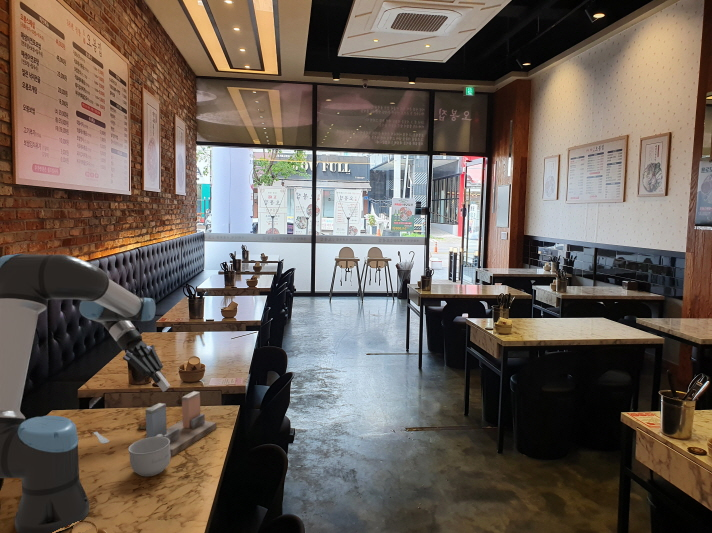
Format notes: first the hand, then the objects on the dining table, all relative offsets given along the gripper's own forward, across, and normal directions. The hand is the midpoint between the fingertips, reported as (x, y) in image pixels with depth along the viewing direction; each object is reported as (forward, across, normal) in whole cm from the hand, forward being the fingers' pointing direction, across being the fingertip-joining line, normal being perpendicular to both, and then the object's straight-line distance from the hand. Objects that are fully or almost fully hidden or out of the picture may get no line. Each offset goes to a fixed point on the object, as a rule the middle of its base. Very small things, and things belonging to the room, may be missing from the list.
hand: (166, 388), depth 178 cm
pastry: (+5, +1, -14) cm, 15 cm away
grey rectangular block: (+13, +13, -3) cm, 19 cm away
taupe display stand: (+17, +7, -2) cm, 18 cm away
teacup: (+21, +26, +2) cm, 33 cm away
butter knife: (-4, +12, -23) cm, 27 cm away
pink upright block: (+15, 0, 0) cm, 15 cm away
